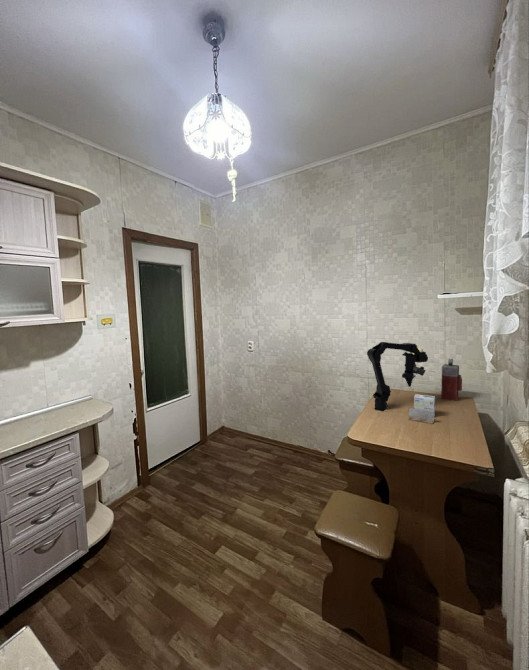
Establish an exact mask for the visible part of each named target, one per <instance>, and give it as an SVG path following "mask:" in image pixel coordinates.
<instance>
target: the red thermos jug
mask: <svg viewBox="0 0 529 670" xmlns="http://www.w3.org/2000/svg"><path fill="white" fill-rule="evenodd" d="M447 362H448V363H445V364H443V365H441V391H440V392H441V394H440V395H441V397H440V398H441V400H446V401H447V400H448V401H452V400H453V402H458V400H459V392H462V391H463V378H462V375H461V374H460V366H459V365H458V364H454V358H448V361H447Z"/></svg>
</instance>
